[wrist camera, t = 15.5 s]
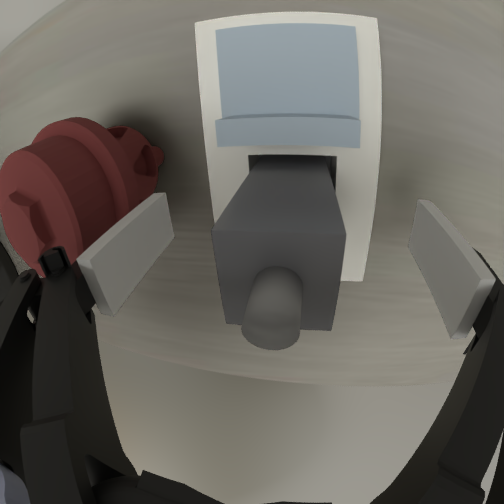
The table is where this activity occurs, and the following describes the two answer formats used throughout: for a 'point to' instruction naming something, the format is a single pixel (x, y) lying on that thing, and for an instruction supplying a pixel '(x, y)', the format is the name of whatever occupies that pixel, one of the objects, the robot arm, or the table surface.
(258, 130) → the panel
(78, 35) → the table surface
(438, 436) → the robot arm
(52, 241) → the mechanical component
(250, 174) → the plug
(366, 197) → the socket
